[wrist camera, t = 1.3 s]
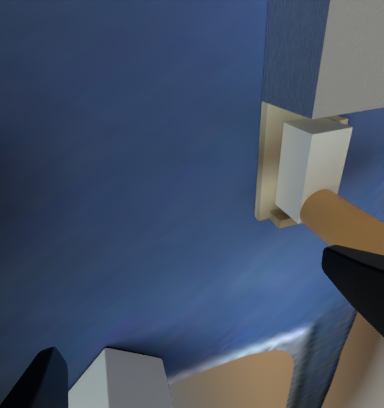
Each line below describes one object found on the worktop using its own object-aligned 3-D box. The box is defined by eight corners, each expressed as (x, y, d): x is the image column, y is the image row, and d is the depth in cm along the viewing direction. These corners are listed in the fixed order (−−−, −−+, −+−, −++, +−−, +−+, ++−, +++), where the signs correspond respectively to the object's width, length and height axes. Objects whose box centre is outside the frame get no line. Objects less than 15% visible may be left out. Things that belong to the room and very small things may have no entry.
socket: (331, 91, 22) (394, 105, 18) (261, 101, 21) (311, 119, 16) (348, -7, 19) (431, -20, 15) (268, -3, 18) (332, -16, 13)
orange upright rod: (305, 202, 26) (453, 311, 16) (274, 209, 25) (407, 329, 15) (320, 116, 22) (530, 186, 12) (283, 122, 21) (474, 203, 11)
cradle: (311, 202, 27) (328, 215, 25) (254, 216, 26) (268, 231, 24) (331, 91, 22) (355, 96, 20) (261, 101, 21) (280, 108, 19)
